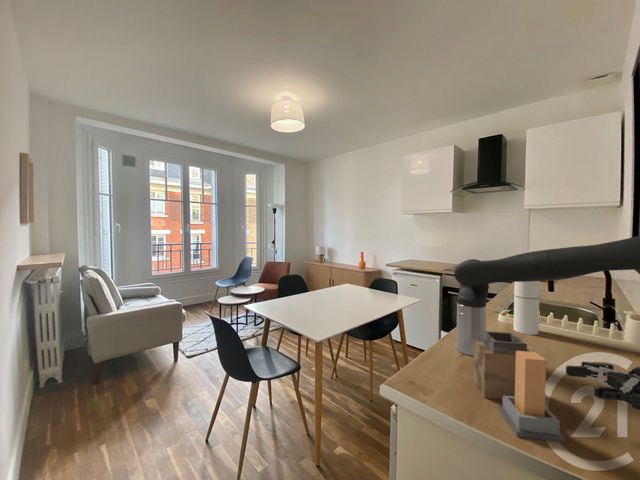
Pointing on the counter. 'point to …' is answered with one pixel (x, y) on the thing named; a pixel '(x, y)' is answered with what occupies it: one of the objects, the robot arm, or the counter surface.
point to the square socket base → (496, 363)
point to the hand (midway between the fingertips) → (580, 380)
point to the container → (526, 307)
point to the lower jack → (530, 422)
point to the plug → (530, 383)
